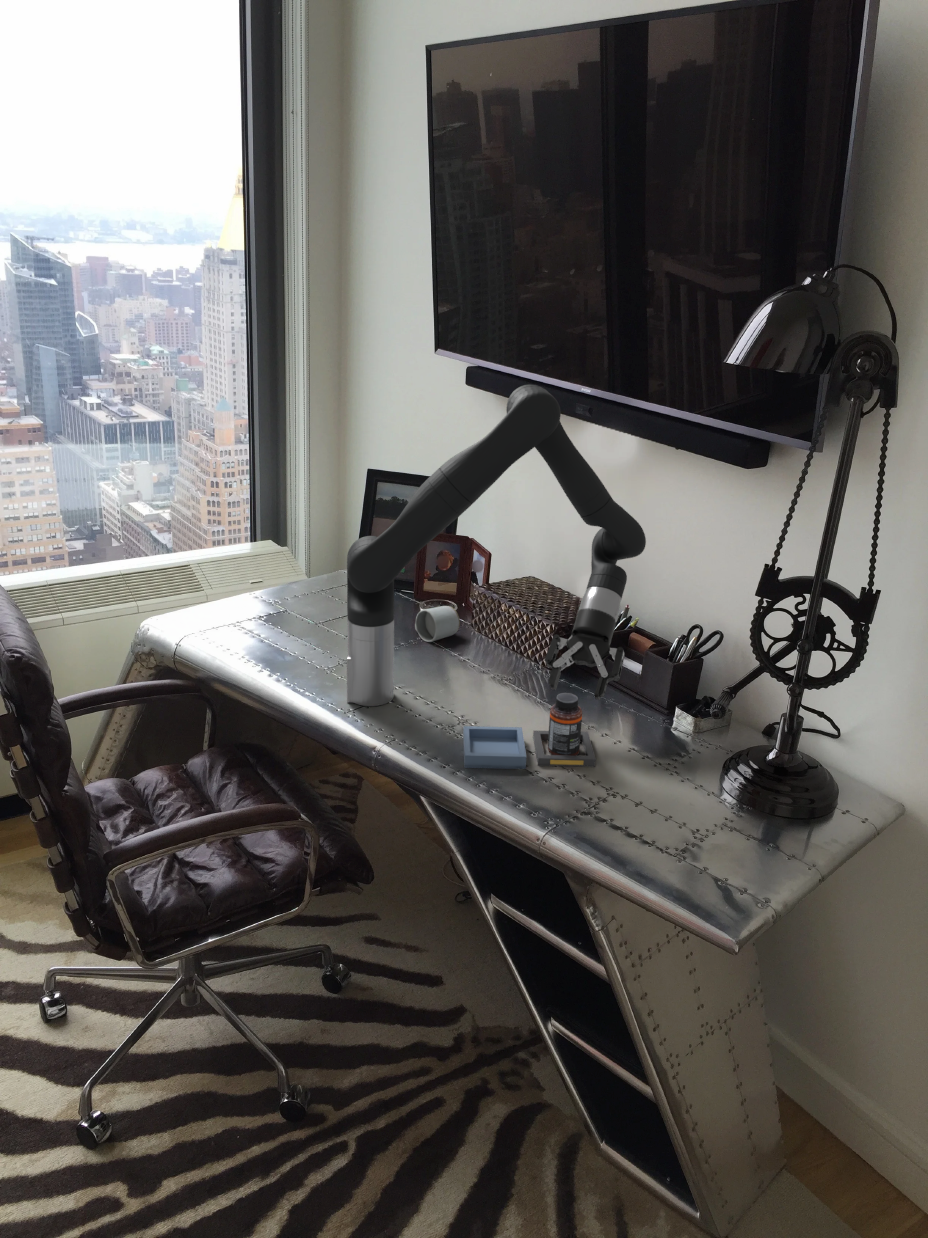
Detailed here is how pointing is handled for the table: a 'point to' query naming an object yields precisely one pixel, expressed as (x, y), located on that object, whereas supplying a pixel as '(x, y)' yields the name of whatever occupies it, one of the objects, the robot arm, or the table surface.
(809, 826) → the table surface
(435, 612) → the ceramic mug
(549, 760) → the frame
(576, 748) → the supplement bottle
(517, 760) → the tray
